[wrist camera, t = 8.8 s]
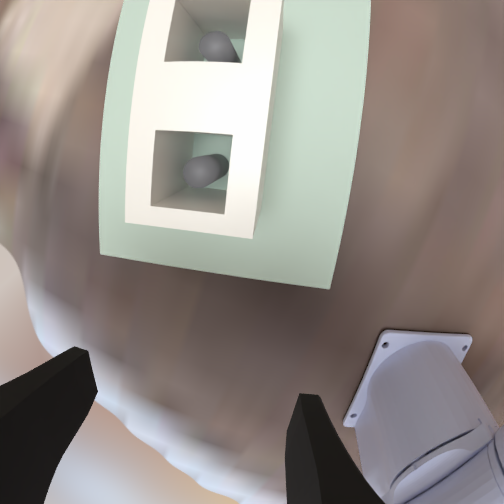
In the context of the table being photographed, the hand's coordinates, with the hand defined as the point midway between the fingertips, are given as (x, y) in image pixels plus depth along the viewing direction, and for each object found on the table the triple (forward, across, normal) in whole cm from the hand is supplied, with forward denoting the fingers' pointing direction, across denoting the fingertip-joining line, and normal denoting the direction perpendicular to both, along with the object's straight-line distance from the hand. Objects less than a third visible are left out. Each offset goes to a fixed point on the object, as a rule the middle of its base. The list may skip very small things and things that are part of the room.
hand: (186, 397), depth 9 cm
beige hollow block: (+8, +1, -9) cm, 12 cm away
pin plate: (+9, +1, -9) cm, 13 cm away
